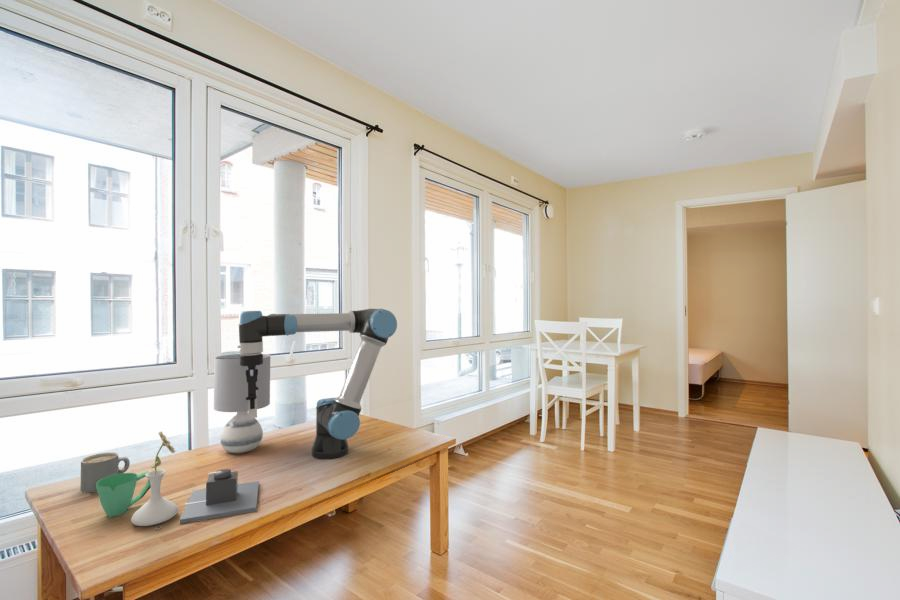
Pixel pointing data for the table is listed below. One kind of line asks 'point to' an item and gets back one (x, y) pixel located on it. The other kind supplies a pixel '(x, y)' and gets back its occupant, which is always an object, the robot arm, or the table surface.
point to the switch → (220, 504)
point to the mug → (119, 492)
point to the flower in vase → (155, 497)
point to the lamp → (239, 401)
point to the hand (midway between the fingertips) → (252, 413)
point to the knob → (221, 487)
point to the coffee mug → (100, 469)
